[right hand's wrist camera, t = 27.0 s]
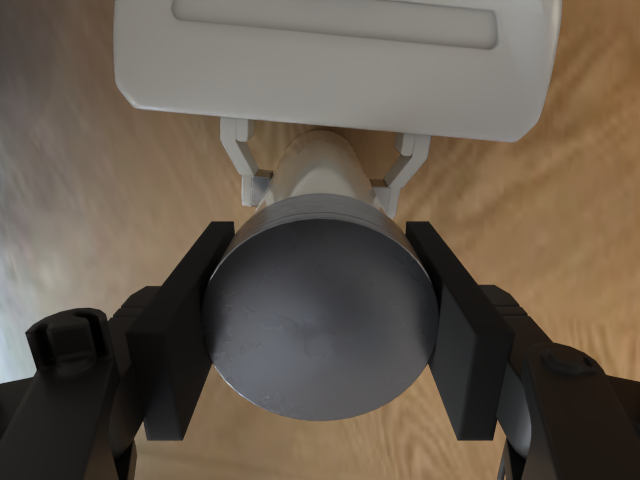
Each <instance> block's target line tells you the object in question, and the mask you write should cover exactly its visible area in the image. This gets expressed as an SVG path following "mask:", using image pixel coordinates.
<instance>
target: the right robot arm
mask: <svg viewBox="0 0 640 480" xmlns="http://www.w3.org/2000/svg"><path fill="white" fill-rule="evenodd" d="M234 235H235V230H234V222H211V223H210V224H209V226H208V227H207V228H206V229H205V231H204V232H203V233H202V235H201V236H200V237H199V238H198V240H197V241H196V242H195V244H194V245H193V246H192V247H191V249H190V250H189V251H188V253H187V254H186V255H185V256H184V258H183V259H182V260H181V262H180V263H179V264H178V265H177V267H176V268H175V269H174V271H173V272H172V273H171V274H170V276H169V277H168V278H167V280H166V281H165V282H164V283H163V285H162V286H146V287H144V288H142V289H141V290H139V291H137V292H136V293H134V294H132V295H131V296H130V297H129V298H128V299H127V300H126V301H125V302H124V304H123V305H122V306H121V308H119V309H118V310H117V311H116V313H115V314H114V315H113V318H110V319H109V320H108V322H107V317H106V314H105V313H104V312H102V311H101V310H98V309H93V308H76V309H71V310H66V311H62V312H59V313H56V314H53V315H51V316H48V317H45V318H44V319H42V320H40V321H39V322H37V323H35V324H33V325H32V326H31V327H30V328H29V329H28V330H27V331H26V332H25V334H26V337H27V340H28V343H29V346H30V349H31V353H32V356H33V359H34V362H35V365H36V368H37V371H36V373H35V375H34V377H31V378H27V379H22V380H17V381H12V382H7V383H2V384H0V480H134V475H135V468H136V460H137V451H136V445H135V441H134V437H135V435H136V433H137V431H138V430H139V428H140V426H141V424H142V422H144V427H145V432H146V436H147V440H183V438H184V436H185V433H186V430H187V428H188V425H189V423H190V420H191V417H192V415H193V412H194V410H195V407H196V404H197V402H198V399H199V396H200V394H201V391H202V389H203V386H204V383H205V381H206V378H207V376H208V373H209V370H210V368H211V365H212V361H211V359H210V357H209V355H208V353H207V350H206V348H205V344H204V339H203V332H202V324H201V305H202V301H203V297H204V292H205V290H206V287H207V285H208V282H209V280H210V278H211V276H212V274H213V272H214V271H215V269H216V267H217V265H218V263H219V262H220V260H221V258H222V256H223V255H224V253H225V251H226V249H227V247H228V246H229V244H230V242H231V241H232V239H233V237H234ZM405 236H406V237H407V239H408V240H409V242H410V243H411V245H412V247H413V249H414V251H415V252H416V254H417V256H418V258H419V260H420V261H421V263H422V265H423V267H424V268H425V270H426V272H427V274H428V276H429V278H430V280H431V282H432V284H433V286H434V290H435V293H436V296H437V300H438V307H439V326H438V334H437V341H436V344H435V347H434V350H433V353H432V355H431V357H430V359H429V361H428V365H429V367H430V370H431V372H432V375H433V378H434V380H435V383H436V385H437V388H438V391H439V393H440V396H441V398H442V401H443V404H444V406H445V409H446V411H447V414H448V417H449V419H450V422H451V425H452V427H453V430H454V432H455V435H456V438H457V440H488V441H493V438H494V433H495V428H496V423H497V419H498V421H499V423H500V425H501V427H502V429H503V431H504V433H505V434H506V441H505V445H504V450H503V454H502V458H501V463H500V467H499V472H498V478H497V480H504V476H505V474H506V480H640V382H638V381H633V380H628V379H623V378H618V377H613V376H609V375H606V374H605V372H604V370H603V369H602V368H601V366H600V365H599V364H598V363H597V362H596V361H595V360H594V359H592V358H591V357H590V356H588V355H587V354H585V353H584V352H581V351H579V350H577V349H575V348H572V347H570V346H566V345H562V344H558V343H553V342H552V341H551V339H550V338H549V337H548V336H547V335H546V334H545V333H544V332H543V331H542V329H541V328H540V327H539V326H538V325H537V324H536V323H535V322H534V321H533V319H532V318H531V317H530V316H528V314H527V313H526V312H525V310H524V309H523V308H522V307H520V306H519V304H518V303H517V302H516V300H515V299H514V298H513V297H512V296H511V295H510V294H509V293H507V292H505V291H504V290H502V289H500V288H499V287H497V286H495V285H478V284H477V283H476V282H475V280H474V279H473V278H472V277H471V275H470V274H469V273H468V271H467V270H466V269H465V268H464V266H463V265H462V264H461V262H460V261H459V260H458V259H457V257H456V256H455V255H454V253H453V252H452V251H451V250H450V248H449V247H448V246H447V244H446V243H445V242H444V241H443V239H442V238H441V237H440V235H439V234H438V233H437V232H436V230H435V229H434V228H433V226H432V225H431V224H430V223H429V222H406V234H405Z"/></svg>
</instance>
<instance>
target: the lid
mask: <svg viewBox="0 0 640 480" xmlns="http://www.w3.org/2000/svg"><path fill="white" fill-rule="evenodd" d="M201 324H202V332H203V339H204V344H205V348H206V350H207V353H208V355H209V357H210V359H211V361H212V363H213V365H214V366H215V368H216V370H217V371H218V372H219V374H220V375H221V376H222V378H223V379H224V380H225V381H226V382H227V383H228V384H229V385H230V386H231V387H232V388H233V389H234V390H235V391H236V392H237V393H239V394H240V395H241V396H243V397H244V398H245V399H247V400H248V401H250V402H252V403H253V404H255V405H257V406H259V407H261V408H263V409H265V410H267V411H270V412H273V413H276V414H278V415H281V416H285V417H290V418H294V419H300V420H308V421H330V420H340V419H346V418H351V417H355V416H358V415H362V414H365V413H368V412H370V411H373V410H375V409H377V408H379V407H381V406H383V405H385V404H387V403H389V402H390V401H392V400H393V399H395V398H396V397H398V396H399V395H400V394H402V393H403V392H404V391H405V390H406V389H407V388H408V387H410V386H411V385H412V383H413V382H414V381H415V380H416V379H417V378H418V377H419V376H420V374H421V373H422V371H423V370H424V368H425V367H426V365H427V363H428V361H429V359H430V357H431V355H432V353H433V350H434V347H435V344H436V341H437V334H438V326H439V307H438V300H437V296H436V293H435V290H434V286H433V284H432V282H431V280H430V278H429V276H428V274H427V272H426V270H425V268H424V267H423V265H422V263H421V261H420V260H419V258H418V256H417V254H416V252H415V251H414V249H413V247H412V245H411V243H410V242H409V240H408V239H407V237H406V236H405V234H404V233H403V231H402V230H401V229H400V228H399V227H398V226H397V225H396V224H395V222H394V221H393V220H391V219H390V218H389V217H388V216H386V215H385V214H384V213H383V212H381V211H380V210H378V209H376V208H375V207H373V206H371V205H369V204H367V203H365V202H363V201H360V200H358V199H354V198H351V197H348V196H344V195H338V194H331V193H311V194H301V195H297V196H293V197H288V198H286V199H283V200H280V201H277V202H275V203H273V204H271V205H269V206H267V207H265V208H263V209H262V210H260V211H259V212H258V213H256V214H255V215H253V216H252V217H251V218H250V219H249V220H248V221H247V222H246V223H245V224H244V225H242V227H241V228H240V229H239V230H238V232H237V233H236V234H235V235H234V237H233V239H232V241H231V242H230V244H229V246H228V247H227V249H226V251H225V253H224V255H223V256H222V258H221V260H220V262H219V263H218V265H217V267H216V269H215V271H214V272H213V274H212V276H211V278H210V280H209V282H208V285H207V287H206V290H205V292H204V297H203V301H202V305H201Z"/></svg>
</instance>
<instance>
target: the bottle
mask: <svg viewBox="0 0 640 480" xmlns="http://www.w3.org/2000/svg"><path fill="white" fill-rule="evenodd" d="M311 193H331V194H338V195H344V196H348V197H351V198H354V199H358V200H360V201H363V202H365V203H367V204H369V205H371V206H373V207H375V208H376V209H378V210H380V211H381V212H383V213H384V214H385V215H386V216H387V214H386V212H385V210H384V208H383V206H382V204H381V202H380V200H379V198H378V196H377V194H376V192H375V190H374V188H373V186H372V184H371V182H370V180H369V178H368V176H367V174H366V172H365V170H364V168H363V166H362V164H361V162H360V160H359V158H358V156H357V154H356V152H355V150H354V149H353V147H352V146H351V144H350V143H349V142H348V141H347V140H346V139H345V138H343V137H342V136H340V135H338V134H336V133H334V132H331V131H327V130H313V131H309V132H306V133H304V134H302V135H300V136H298V137H297V138H296V139H294V140H293V141H292V142H291V143H290V145H289V146H288V147H287V149H286V151H285V152H284V154H283V156H282V158H281V160H280V162H279V164H278V166H277V168H276V170H275V172H274V174H273V176H272V178H271V180H270V182H269V184H268V186H267V188H266V190H265V192H264V194H263V196H262V198H261V200H260V202H259V204H258V206H257V208H256V210H255V212H254V214H253V215H255V214H256V213H258V212H259V211H260V210H262V209H263V208H265V207H267V206H269V205H271V204H273V203H275V202H277V201H280V200H283V199H286V198H288V197H293V196H297V195H301V194H311Z"/></svg>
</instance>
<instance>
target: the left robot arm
mask: <svg viewBox="0 0 640 480" xmlns="http://www.w3.org/2000/svg"><path fill="white" fill-rule="evenodd" d="M561 18H562V0H115V5H114V29H113V53H114V75H115V82H116V85H117V87H118V89H119V90H120V91H121V93H122V94H123V95H124V96H125V98H126V99H127V100H128V102H129V103H130V104H131V105H132V106H133V107H134V108H136V109H143V110H154V111H165V112H176V113H187V114H198V115H210V116H220V141H221V142H222V144H223V146H224V148H225V149H226V151H227V153H228V155H229V157H230V158H231V160H232V162H233V164H234V165H235V167H236V169H237V171H238V172H239V174H240V175H242V205H243V206H250V207H252V206H253V207H257V206H258V204H259V202H260V200H261V198H262V196H263V194H264V192H265V190H266V188H267V186H268V184H269V182H270V180H271V178H272V176H273V171H271V170H262V169H259V167H258V165H257V163H256V161H255V159H254V157H253V155H252V153H251V151H250V149H249V147H248V145H247V143H246V141H247V140H248V139H250V138H251V137H252V136H253V135H254V124H255V120H265V121H277V122H288V123H299V124H310V125H321V126H332V127H344V128H355V129H366V130H377V131H388V132H396V135H395V143H394V148H395V149H396V150H397V151H398V152H399V153H400V154H401V155H400V157H399V158H398V160H397V161H396V162H395V164H394V165H393V166H392V168H391V169H390V170H389V172H388V173H387V174H386V176H385V177H384V179H383V180H378V179H369V180H370V182H371V184H372V186H373V188H374V190H375V192H376V194H377V196H378V198H379V200H380V202H381V204H382V206H383V208H384V210H385V212H386V214H387V216H388V217H389V218H394V217H395V215H396V210H397V204H398V198H399V192H400V188H403V187H404V186H405V185H406V183H407V182H408V181H409V180H410V179H411V177H412V176H413V175H414V174H415V173H416V171H417V170H418V169H419V168H420V167H421V165H422V164H423V163H424V162H425V160H426V159H427V156H428V151H429V146H430V140H431V135H433V136H444V137H455V138H466V139H478V140H489V141H500V142H516V141H518V140H519V139H521V138H522V137H523V136H524V135H525V134H526V133H527V132H528V131H529V130H531V129H532V128H533V127H534V126H535V125H536V123H537V122H538V120H539V118H540V115H541V113H542V110H543V107H544V103H545V100H546V96H547V92H548V88H549V84H550V80H551V75H552V71H553V66H554V61H555V55H556V50H557V45H558V38H559V32H560V26H561Z"/></svg>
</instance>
